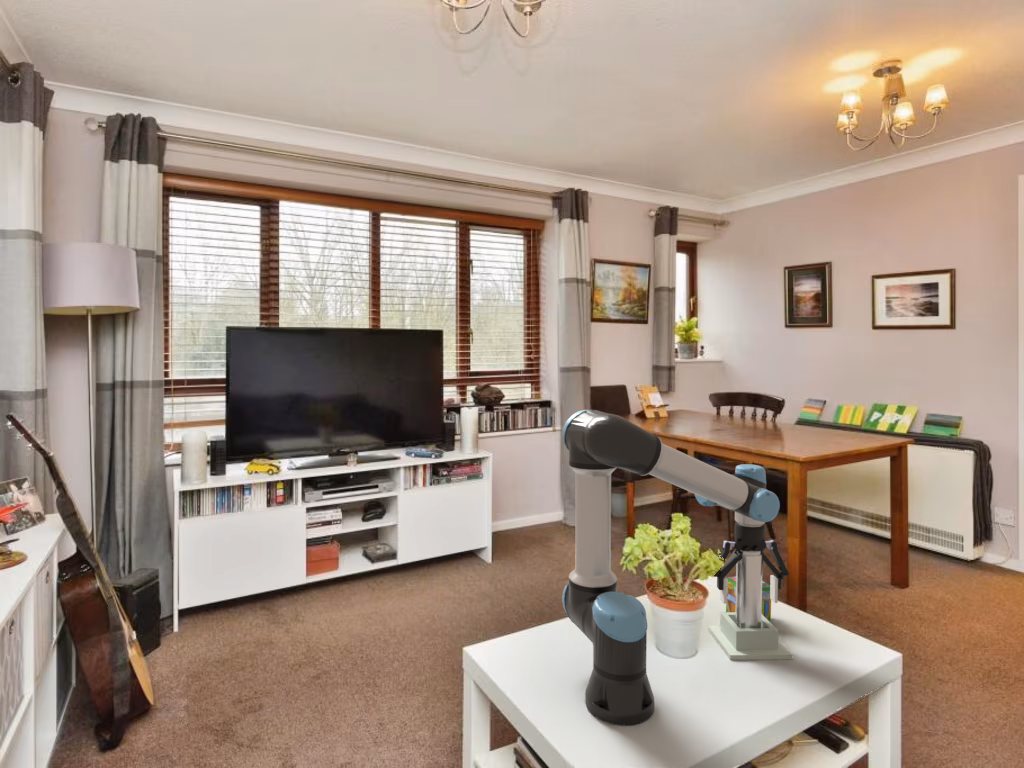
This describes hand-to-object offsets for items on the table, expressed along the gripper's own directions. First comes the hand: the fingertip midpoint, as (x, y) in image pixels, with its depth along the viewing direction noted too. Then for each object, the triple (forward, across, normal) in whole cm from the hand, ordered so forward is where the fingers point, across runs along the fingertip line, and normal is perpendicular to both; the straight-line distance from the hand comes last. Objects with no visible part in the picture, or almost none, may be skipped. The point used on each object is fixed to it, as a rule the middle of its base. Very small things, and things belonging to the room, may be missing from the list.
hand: (748, 601), depth 155 cm
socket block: (+12, 0, 0) cm, 12 cm away
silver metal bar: (+11, 0, 0) cm, 11 cm away
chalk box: (+12, +6, +14) cm, 19 cm away
